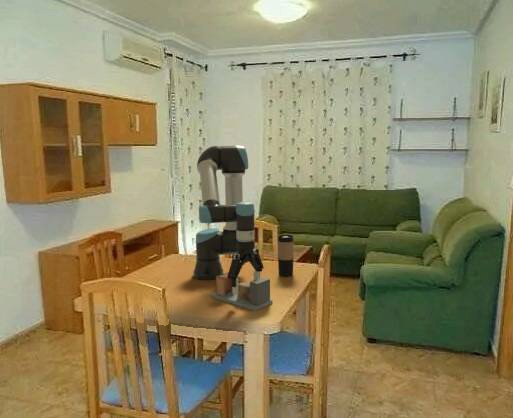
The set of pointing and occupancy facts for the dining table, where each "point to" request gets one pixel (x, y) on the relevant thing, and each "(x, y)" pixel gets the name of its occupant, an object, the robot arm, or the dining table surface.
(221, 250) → the robot arm
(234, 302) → the board
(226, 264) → the dining table surface
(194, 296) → the dining table surface
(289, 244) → the travel mug
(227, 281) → the block
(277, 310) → the dining table surface
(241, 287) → the brown block
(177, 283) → the dining table surface
